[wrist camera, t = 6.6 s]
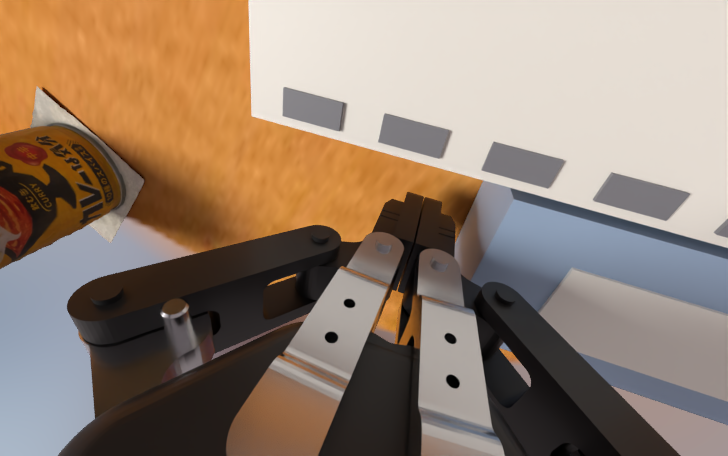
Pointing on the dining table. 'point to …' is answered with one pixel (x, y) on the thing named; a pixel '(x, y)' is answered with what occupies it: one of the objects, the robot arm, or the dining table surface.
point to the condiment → (59, 183)
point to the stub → (611, 292)
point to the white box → (518, 94)
